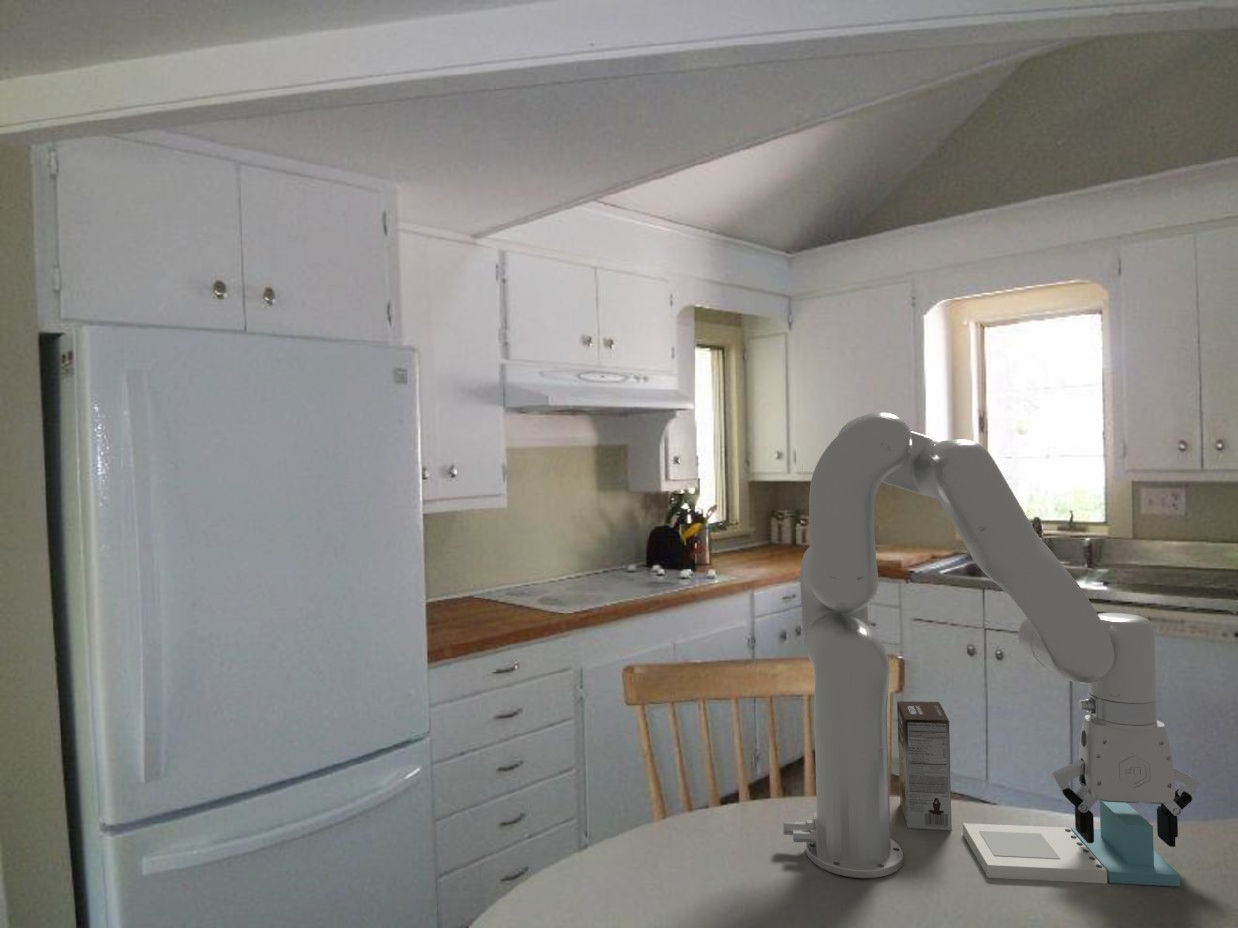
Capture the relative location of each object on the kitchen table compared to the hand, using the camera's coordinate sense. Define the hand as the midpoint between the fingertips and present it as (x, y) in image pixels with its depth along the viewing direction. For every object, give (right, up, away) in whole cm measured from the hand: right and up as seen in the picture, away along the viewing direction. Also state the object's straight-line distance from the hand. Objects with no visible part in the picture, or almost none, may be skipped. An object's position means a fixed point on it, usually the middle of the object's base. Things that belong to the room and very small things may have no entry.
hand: (1126, 840), depth 106 cm
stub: (0, -3, 0) cm, 3 cm away
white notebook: (-12, -3, +2) cm, 12 cm away
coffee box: (-21, -4, +15) cm, 26 cm away
